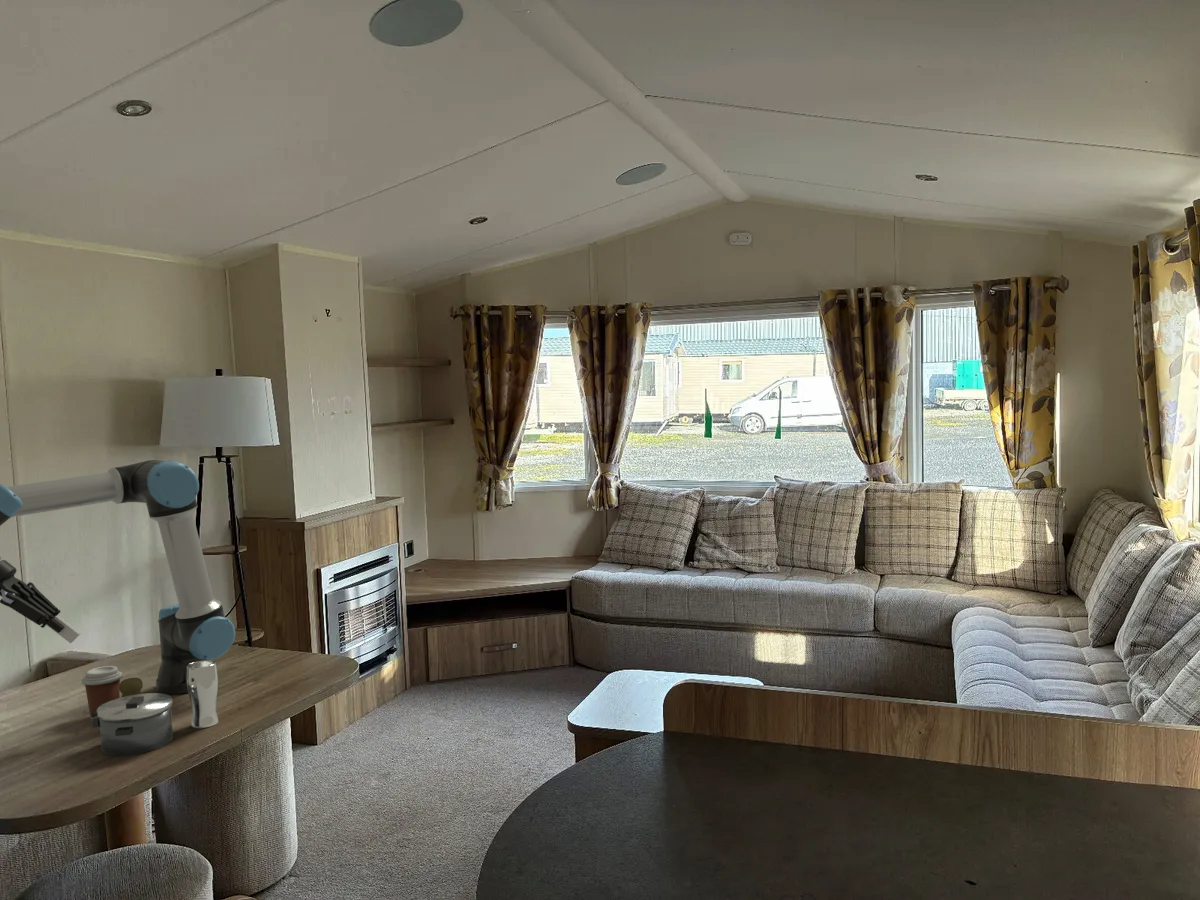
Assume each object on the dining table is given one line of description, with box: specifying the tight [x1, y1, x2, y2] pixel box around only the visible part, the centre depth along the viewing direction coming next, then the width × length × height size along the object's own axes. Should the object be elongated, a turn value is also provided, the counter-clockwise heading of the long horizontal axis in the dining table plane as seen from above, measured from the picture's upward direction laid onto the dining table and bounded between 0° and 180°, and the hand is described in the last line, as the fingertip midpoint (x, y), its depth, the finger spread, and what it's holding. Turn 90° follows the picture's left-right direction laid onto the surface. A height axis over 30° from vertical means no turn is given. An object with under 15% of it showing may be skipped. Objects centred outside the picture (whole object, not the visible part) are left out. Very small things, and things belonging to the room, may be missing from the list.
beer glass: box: [187, 659, 219, 729], centre depth 221 cm, size 7×7×15 cm
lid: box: [92, 692, 173, 722], centre depth 210 cm, size 16×16×2 cm
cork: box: [119, 677, 143, 698], centre depth 224 cm, size 6×6×11 cm
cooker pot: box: [91, 706, 174, 757], centre depth 210 cm, size 16×19×8 cm
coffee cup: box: [81, 665, 124, 721], centre depth 229 cm, size 9×9×12 cm
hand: (75, 638), depth 206 cm, fingers closed
